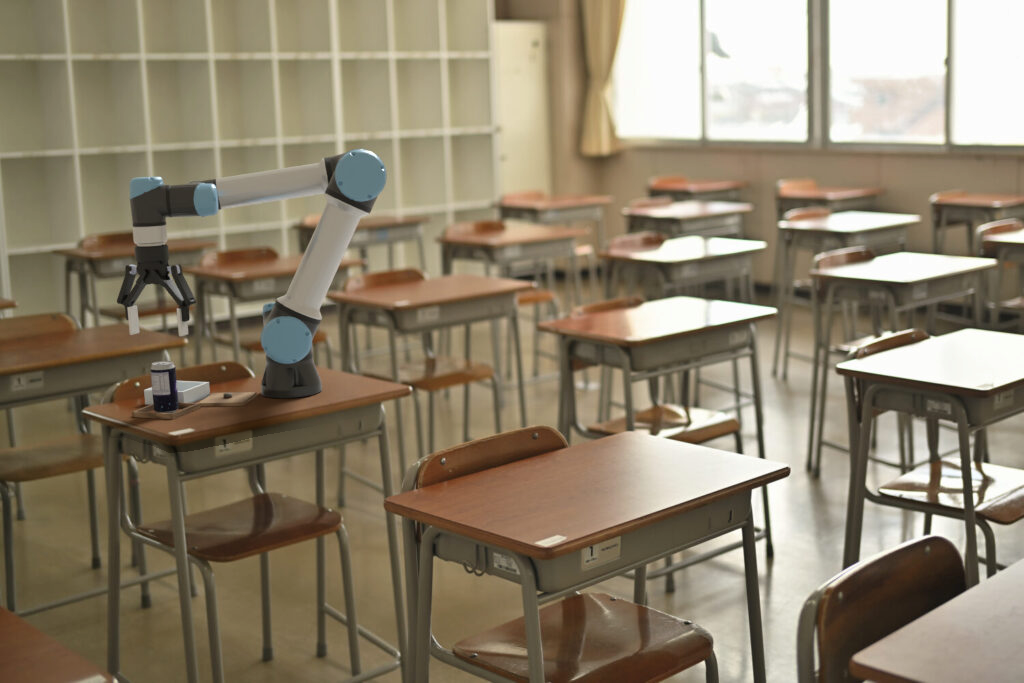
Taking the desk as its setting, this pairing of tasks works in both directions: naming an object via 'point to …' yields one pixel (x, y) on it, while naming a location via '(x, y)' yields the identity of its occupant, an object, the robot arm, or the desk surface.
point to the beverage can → (164, 387)
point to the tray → (185, 392)
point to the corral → (146, 414)
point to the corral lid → (228, 399)
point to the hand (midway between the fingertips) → (159, 334)
